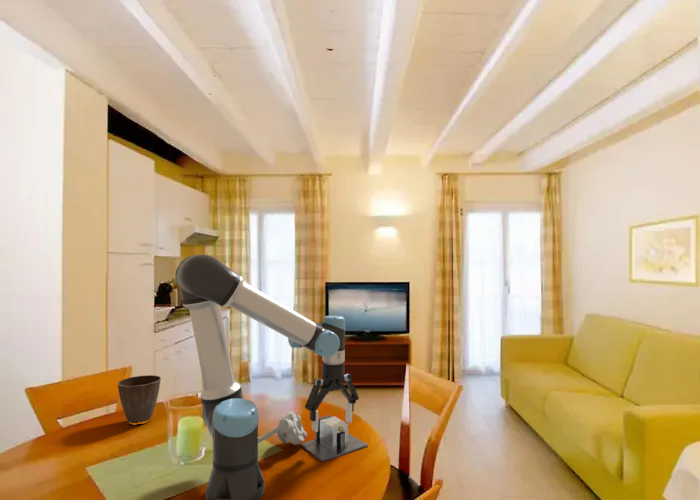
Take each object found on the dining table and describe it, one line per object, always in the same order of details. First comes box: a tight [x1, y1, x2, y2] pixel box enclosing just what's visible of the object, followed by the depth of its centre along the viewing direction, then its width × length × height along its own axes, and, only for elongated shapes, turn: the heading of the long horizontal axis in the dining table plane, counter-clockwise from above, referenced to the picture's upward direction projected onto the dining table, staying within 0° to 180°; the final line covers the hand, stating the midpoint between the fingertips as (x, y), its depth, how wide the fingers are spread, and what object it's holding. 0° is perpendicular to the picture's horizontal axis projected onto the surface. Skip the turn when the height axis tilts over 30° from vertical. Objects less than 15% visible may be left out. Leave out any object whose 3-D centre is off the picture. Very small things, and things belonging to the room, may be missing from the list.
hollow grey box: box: [320, 415, 349, 451], centre depth 139 cm, size 6×8×8 cm
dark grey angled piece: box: [299, 414, 369, 463], centre depth 139 cm, size 18×14×8 cm
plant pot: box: [117, 374, 162, 423], centre depth 160 cm, size 15×15×16 cm
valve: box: [258, 410, 308, 446], centre depth 138 cm, size 10×18×15 cm
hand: (332, 426), depth 139 cm, fingers open, 13 cm apart
